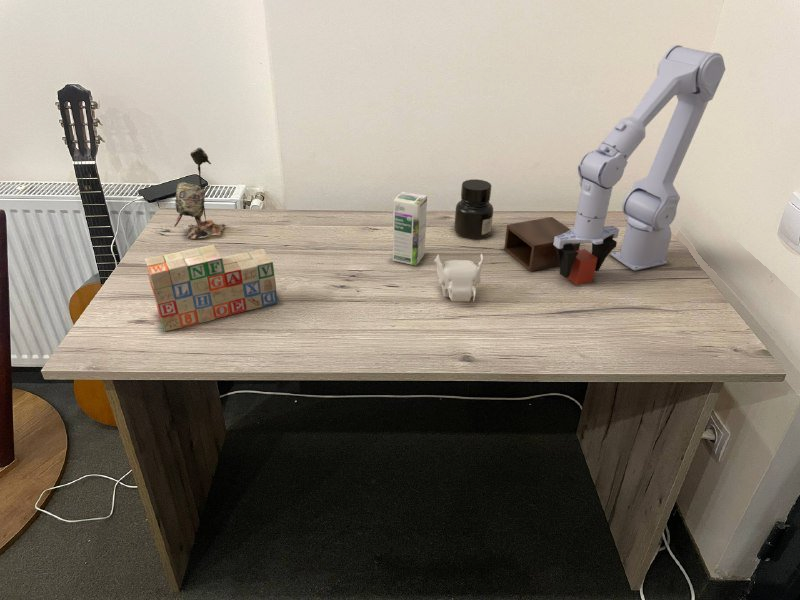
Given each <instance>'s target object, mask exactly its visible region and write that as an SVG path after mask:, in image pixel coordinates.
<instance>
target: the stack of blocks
mask: <svg viewBox="0 0 800 600" xmlns="http://www.w3.org/2000/svg"><path fill="white" fill-rule="evenodd" d="M144 260H145V265H146V268H147V276H148V279H149V284H150V288H151V290H152V293H153V297H154V301H155V305H156V310H157V313H158V316H159V319H160V322H161V325H162V328H163V331H164V332H169V331H173V330H178V329H181V328H186V327H191V326H194V325H197V324H202V323H206V322H209V321H214V320H217V319H220V318H224V317H228V316H231V315H235V314H239V313H243V312H247V311H252V310H256V309H260V308H264V307H268V306H272V305H275V304H278V302H279V301H278V293H277V281H276V276H275V269H274V262H273V260H272V259H271V257H270V256H269V255H268V254H267V252H266V250H265V249H264V248H260V249H256V250H255V249H254V250H249V251H244V252H240V253H235V254H231V255H226V256H222V255H221V254H220V252H219V251H218V250H217V247H216V246H215V245H214V244H209V245H204V246H199V247H195V248H189V249H184V250H182V251H176V252H172V253H166V254H161V255H156V256H151V257H147V258H144Z"/></svg>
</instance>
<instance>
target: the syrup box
mask: <svg viewBox="0 0 800 600" xmlns="http://www.w3.org/2000/svg"><path fill="white" fill-rule="evenodd" d="M392 207H393V209H392V212H393V213H392V220H393V221H392V223H393V224H392V262H398V263H401V264H406V265H412V266H417V265H418V264H419V263H420V261H421V260H422V258H423V257H424V256H425V253H426V251H425V250H426V229H427V211H428V209H427V207H428V195H425V194H417V193H412V192H407V191H401V192H400V193H399V194H398V195H397V196H396V197H395V198H394V199H393V206H392Z"/></svg>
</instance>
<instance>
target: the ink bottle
mask: <svg viewBox="0 0 800 600" xmlns="http://www.w3.org/2000/svg"><path fill="white" fill-rule="evenodd" d="M460 190H461V192H460V199H461V200H459V201H458V202H457V204H456V205H455V211H454V212H455V213H454V214H455V215H454V225H453V226H454V228H453V229H454V232H455V233H456V235H458V236H460V237H461V238H466V239H474V240H475V239H476V240H477V239H485V238H486V237H488V236H490V235H491V232H492V227H493V217H494V207H493V204H492V203H491V202H490V201H491V195H492V184H491V182H489V181H486V180H483V179H477V178H475V179H466V180H465V181H462V183H461V189H460Z"/></svg>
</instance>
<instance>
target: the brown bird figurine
mask: <svg viewBox="0 0 800 600" xmlns="http://www.w3.org/2000/svg"><path fill="white" fill-rule="evenodd" d="M190 157H191V158H192V161H193V162H194V163H195V165H197V170H198V180H199V184H195V183H194V184H192V183H187V182H180V180H178V181H176V182H178V183H177V185H176V189H175V191H176V193H175V200H174V202H175V210H176V212H177V213H178V214H179V215H178V216H177V218H176V221H175V223H174V224H173V227H175V228H176V227H177V226H178V224H179V223H180V221H181V220H182V218H183V216H186V217H191V218H194V220H195V222H196V225H193V226H189V228H188V232H187V235H186V238H187V239H191V240H192V239H202V238H203V239H204V238H206V237H208V236H213V235H214V236H215V235H216V236H221V235H222V234H223V231H224V230H225V227H226V226H227V225H226V224H224V223H221V224H217V223H214V221H213V220H212V219H211V220H210V219H208V220H207V217H206V216H207V215H206V208H205V198H206V191H205V189H204V187H203V184H202V177H201V170H202V169H201V165H203V164H206V163H208V164H209V165H212V162H210V160H209V155H208V154H207V153H206V151H205V150H204V149H203V148H201V147H196V148H195V149H194V150H192V151H191V152H190ZM202 216H203V217H204V220H202Z"/></svg>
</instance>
